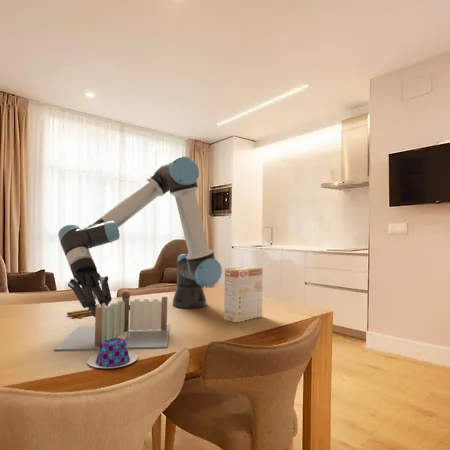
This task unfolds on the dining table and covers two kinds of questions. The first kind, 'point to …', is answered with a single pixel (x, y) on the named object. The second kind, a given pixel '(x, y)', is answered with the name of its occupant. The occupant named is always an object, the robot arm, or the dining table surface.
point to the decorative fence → (80, 313)
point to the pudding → (112, 354)
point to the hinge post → (126, 309)
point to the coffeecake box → (243, 293)
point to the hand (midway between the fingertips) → (106, 323)
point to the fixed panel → (148, 314)
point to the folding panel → (109, 321)
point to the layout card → (134, 338)
